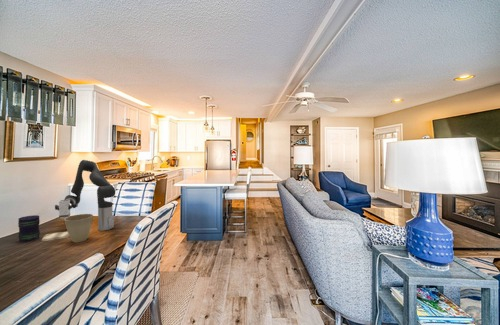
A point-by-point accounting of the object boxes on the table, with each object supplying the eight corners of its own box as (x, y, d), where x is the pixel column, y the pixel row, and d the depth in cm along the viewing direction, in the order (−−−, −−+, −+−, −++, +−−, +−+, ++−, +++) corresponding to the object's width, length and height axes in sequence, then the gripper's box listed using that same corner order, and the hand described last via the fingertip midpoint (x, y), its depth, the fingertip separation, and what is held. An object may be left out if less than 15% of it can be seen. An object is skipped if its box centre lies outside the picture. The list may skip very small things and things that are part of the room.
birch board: (75, 232, 154) (75, 230, 154) (73, 236, 146) (73, 234, 146) (46, 236, 146) (46, 234, 146) (41, 241, 137) (41, 239, 137)
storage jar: (24, 237, 143) (24, 216, 143) (43, 235, 147) (42, 214, 146) (14, 243, 134) (14, 220, 133) (34, 241, 137) (34, 218, 137)
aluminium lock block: (70, 215, 159) (69, 199, 159) (68, 217, 154) (68, 200, 153) (61, 216, 156) (60, 199, 156) (59, 218, 151) (58, 201, 151)
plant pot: (75, 236, 147) (75, 213, 146) (98, 235, 148) (98, 213, 148) (58, 245, 132) (58, 220, 132) (83, 245, 133) (83, 220, 133)
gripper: (56, 200, 163) (50, 204, 149) (80, 198, 171) (76, 202, 156) (56, 209, 163) (50, 215, 149) (80, 207, 171) (76, 212, 156)
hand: (63, 208), depth 153 cm, fingers closed on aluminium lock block, 5 cm apart
